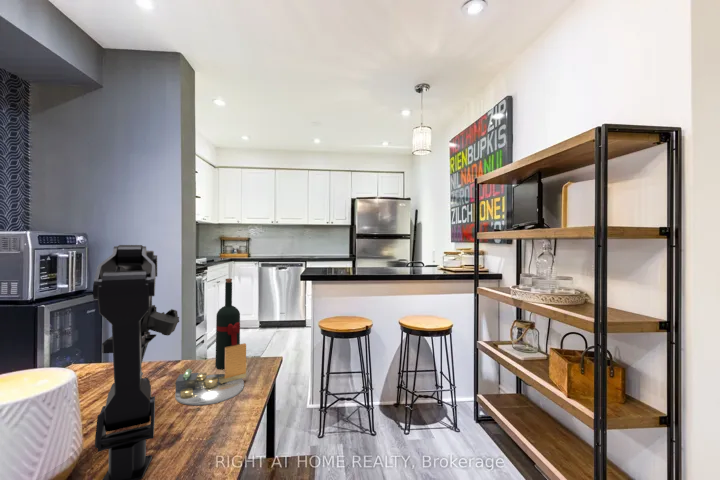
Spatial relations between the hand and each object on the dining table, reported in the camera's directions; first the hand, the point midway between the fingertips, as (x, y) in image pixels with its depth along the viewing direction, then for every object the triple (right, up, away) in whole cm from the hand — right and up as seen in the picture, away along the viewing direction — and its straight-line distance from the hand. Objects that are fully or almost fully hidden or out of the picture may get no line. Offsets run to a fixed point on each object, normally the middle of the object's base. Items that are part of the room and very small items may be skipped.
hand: (137, 368), depth 78 cm
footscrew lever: (+13, -11, +20) cm, 26 cm away
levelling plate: (+10, -13, +17) cm, 24 cm away
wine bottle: (+8, -13, +35) cm, 38 cm away
